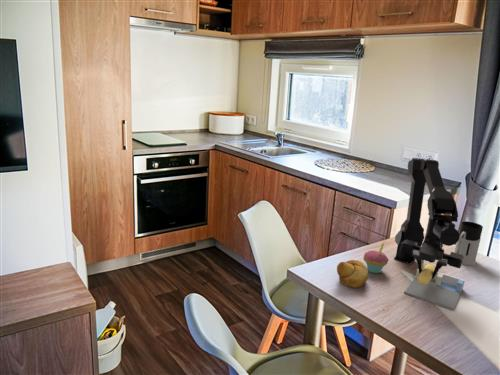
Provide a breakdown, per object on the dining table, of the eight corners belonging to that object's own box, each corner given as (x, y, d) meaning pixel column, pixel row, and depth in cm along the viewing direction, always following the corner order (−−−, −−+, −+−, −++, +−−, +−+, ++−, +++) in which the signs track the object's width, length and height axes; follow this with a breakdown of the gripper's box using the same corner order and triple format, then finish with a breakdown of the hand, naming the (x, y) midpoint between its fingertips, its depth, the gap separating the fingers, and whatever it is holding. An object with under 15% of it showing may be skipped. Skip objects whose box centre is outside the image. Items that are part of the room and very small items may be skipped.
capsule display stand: (404, 293, 138) (405, 283, 137) (417, 275, 152) (419, 265, 151) (453, 310, 130) (455, 300, 129) (462, 289, 144) (465, 280, 143)
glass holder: (479, 261, 168) (488, 226, 163) (465, 271, 158) (474, 233, 154) (456, 253, 174) (464, 219, 169) (442, 262, 164) (450, 226, 160)
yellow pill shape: (426, 288, 135) (428, 278, 134) (415, 284, 137) (417, 274, 136) (436, 273, 146) (438, 264, 145) (425, 270, 148) (427, 260, 147)
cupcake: (390, 270, 153) (395, 240, 150) (379, 278, 147) (384, 246, 144) (368, 262, 159) (373, 232, 156) (357, 269, 153) (362, 238, 150)
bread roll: (346, 270, 151) (349, 249, 149) (372, 278, 147) (376, 257, 144) (332, 284, 141) (335, 262, 139) (361, 293, 136) (364, 271, 134)
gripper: (399, 231, 136) (391, 275, 140) (462, 249, 126) (451, 295, 130) (408, 223, 145) (401, 264, 149) (468, 238, 135) (458, 282, 139)
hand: (426, 276), depth 141 cm, fingers closed on yellow pill shape, 4 cm apart
